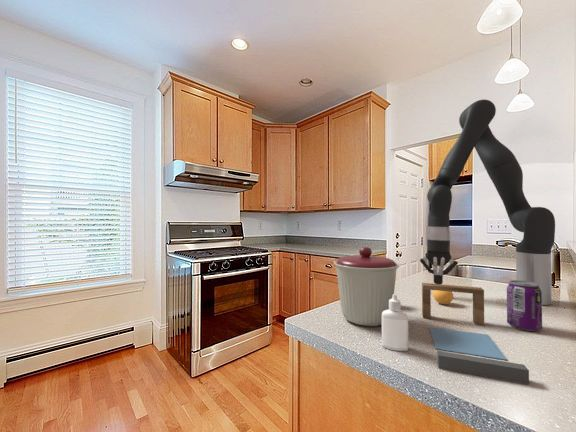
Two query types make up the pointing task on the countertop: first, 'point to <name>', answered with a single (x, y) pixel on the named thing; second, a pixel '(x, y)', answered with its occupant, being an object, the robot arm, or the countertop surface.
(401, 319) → the eye dropper bottle
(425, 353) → the countertop surface
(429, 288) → the bridge
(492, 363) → the stopper wall
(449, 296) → the ball
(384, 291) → the canister
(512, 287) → the beverage can
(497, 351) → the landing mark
